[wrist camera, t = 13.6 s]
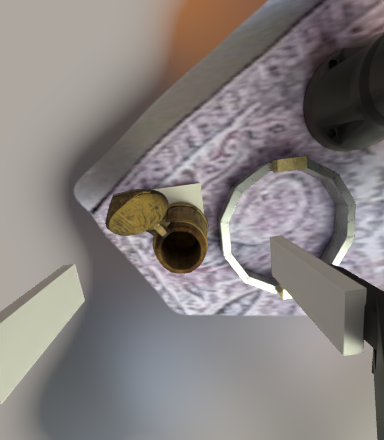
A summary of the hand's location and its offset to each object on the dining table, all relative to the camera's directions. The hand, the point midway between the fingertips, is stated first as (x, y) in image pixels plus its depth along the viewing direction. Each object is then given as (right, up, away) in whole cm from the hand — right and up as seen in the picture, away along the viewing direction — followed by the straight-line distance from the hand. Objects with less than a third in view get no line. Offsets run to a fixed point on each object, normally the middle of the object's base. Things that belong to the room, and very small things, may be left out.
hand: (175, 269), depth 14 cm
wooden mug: (-2, +4, +21) cm, 22 cm away
